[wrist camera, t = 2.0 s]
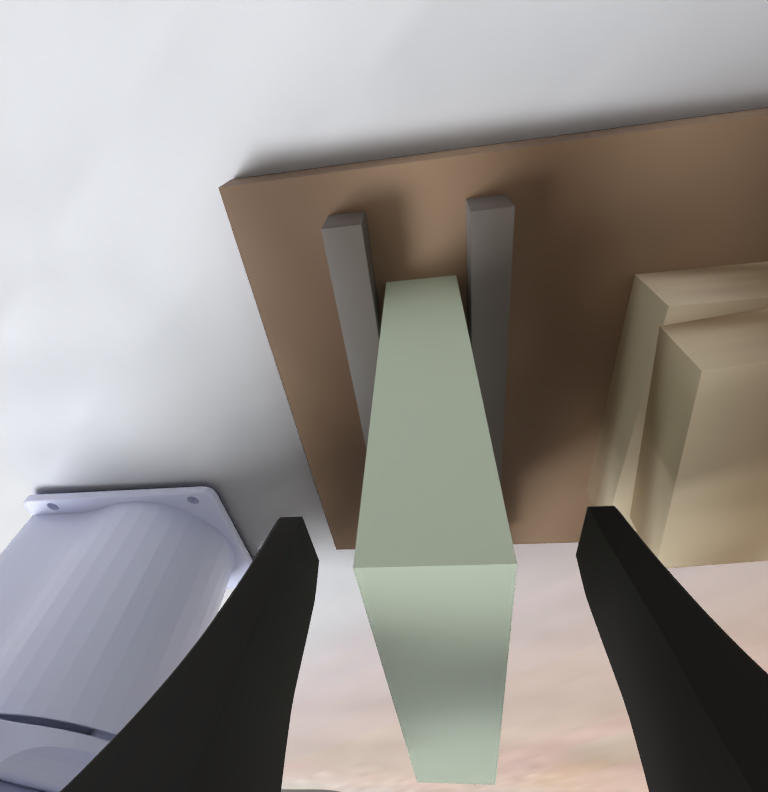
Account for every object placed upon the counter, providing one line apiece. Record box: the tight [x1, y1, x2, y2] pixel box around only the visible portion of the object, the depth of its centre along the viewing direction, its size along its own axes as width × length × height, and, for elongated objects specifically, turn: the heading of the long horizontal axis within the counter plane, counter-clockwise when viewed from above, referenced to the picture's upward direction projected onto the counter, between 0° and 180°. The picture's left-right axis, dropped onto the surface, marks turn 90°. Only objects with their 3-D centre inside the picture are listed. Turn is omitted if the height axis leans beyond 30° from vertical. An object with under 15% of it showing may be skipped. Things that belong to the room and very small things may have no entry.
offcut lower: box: [587, 262, 768, 532], centre depth 14 cm, size 5×9×2 cm, turn 7°
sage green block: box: [353, 275, 517, 785], centre depth 12 cm, size 2×10×9 cm, turn 7°
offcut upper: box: [630, 308, 768, 568], centre depth 12 cm, size 4×8×2 cm, turn 13°
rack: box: [219, 108, 768, 550], centre depth 15 cm, size 16×16×2 cm
